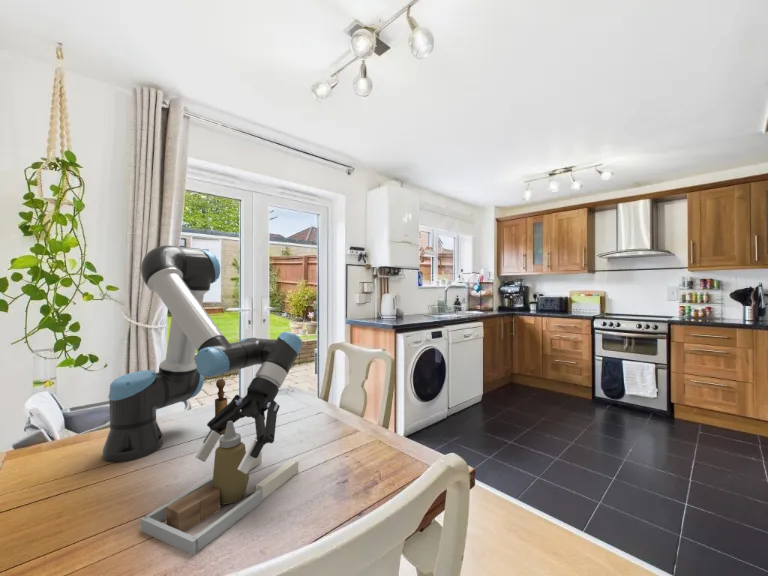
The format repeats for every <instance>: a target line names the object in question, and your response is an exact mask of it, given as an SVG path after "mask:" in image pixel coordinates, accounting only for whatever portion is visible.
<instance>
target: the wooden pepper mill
mask: <svg viewBox="0 0 768 576" xmlns="http://www.w3.org/2000/svg"><path fill="white" fill-rule="evenodd" d="M215 386H216V388H217V390H218V391H217V398H215V399H214V417H215V416H216V415H217V414H218V413H219V412H220V411H221V410H222V409H224V408H225V407H226V406H227V405H228V398H227V397H225V391H224V388H225V386H226V380H225V379H222V378H220V379H218V380H216V382H215ZM214 424H215V423H214ZM218 428H219V427H218ZM225 431H226V429H224V430H223V431H222V432H220V434H221V435H225Z"/></svg>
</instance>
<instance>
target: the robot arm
mask: <svg viewBox="0 0 768 576" xmlns="http://www.w3.org/2000/svg"><path fill="white" fill-rule="evenodd" d="M220 265H221V264H220V262H219V259H218V258H217V256H216V255H215V254H214V253H213V252H212V251H210V250H207V249H202V248H198V247H197V248H196V247H187V246H186V247H185V246H176V245H160V246H157V247H154V248H152V249H151V250H149V251H148V252H147V253H146V254H145V256H144V257H143V259H142V262H141V266H140V271H141V272H140V273H141V278H142V281H144V283H145V285H146V287H147V289H149V290H150V291H151V292H153V293H156V294H157V295H158V297H159V298H160V300H161V301H162V303H163V304H164V306H165V307H166V308H167V310H168V311H169V312H170V314H171V319H170V326H169V334H168V338H167V339H168V341H167V347H166V354H165V359H164V360H163V361H160V362H159V367H158V372H156V371H155V370H150V369H144V370H140V371H134V372H129V373H126V374H124V375H121V376H118V377H117V378H115V379H114V380H112V382H111V383H110V386H109V394H108V399H109V400H108V401H109V432H108V434H107V437H106V440H105V443H104V445H103V448H102V460H104V461H105V460H106V461H105V462H109V463H110V462H113V463H117V462H118V463H120V462H126V461H130V460H131V461H132V460H135V459H139V458H143V457H145V456H147V455H151V454H153V453H154V452H156V451H158V450H160V449H161V448H162V447H163V444H164V435H163V433H162V430H161V428H160V426H159V424H158V420H157V411H158V410H159V409H163V408H167V407H169V406H173V405H176V404H178V403H182V402H186V401H188V400H190V399H192V398H195V397H197V395H199V393H200V392H201V390H202V388H203V386H204V377H206V378H209V377H210V378H211V377H215V376H222V375H225V374H226V373H230V372H233V371H238V370H241V369H245V368H249V367H252V366H256V365H257V366H258V365H260V367H259V369H258V370H257V372H256V373H255V374H254V375H255V376H254V378H252V380H251V382H250V383H249V385H248V387H247V388H246V389H247V392H246V395H245V396H244V397H243V396H240V394H236V395H234V397H233V398H232V399H231V401H230V402H229V403H227V406H226V407H225V408H224V409H222V410H221V411H220V412H219V413H218V414H217V415H216V416H215V415H214V417H213V418H212V419H210V420H209V422H207V423H206V426H207V427H208V428H209V429H210V431H209V432H208V434H207V435H206V437H205V438H204V440H203V443H202V445H201V447H200V449H199V450H198V452H197V454H196V455H195V458H196V459H198V460H200V461H202V462H203V463H206V460H207V459H208V457H209V456H210V454H211V452H212V451H213V449H214V448H215V446H216V445H217V442H218V441H219V440H220V438H221V437H222V436H221V435H222V434H220V432H222V431H223V430H224V429H226V426H227V422H228V421H233V424H234V423H236V422H238V420H240V419H243V418H245V417H246V418H252V419H254V423H255V435H256V437H254V439H252V441H251V443H250V445H249V446H248V448H247V450H246V454H245V456H244V458H243V459H242V461H241V463H240V465H239V467H238V470H239V471H241V472H243V473H244V474H247V473H249V471H250V470H251V469H250V467H251V465H252V463H253V461H254V459H255V458H257V457H258V456H259V453H260V452H262V449H263V448H264V446H265V445H266V444H273V443H274V442H275V435H276V425H277V424H276V423H277V416H278V415H277V414H278V411H279V409H280V407H281V405H279V404H278V402H276V401H275V399H276V397H277V395H278V393H279V391H280V389H281V387H282V385H283V384H284V381H285V380H286V378H287V376H288V375H289V373H290V370H291V368H292V367H293V365H294V363H295V361H296V360H297V358H298V357H299V354H300V352H301V350H302V347H303V340H302V339H301V338H300V336H298V335H297V334H296V333H293V332H291V331H283V332H281V333H280V334H279V335H278V336H277V338H276V339H275V338H274V339H271V338H270V339H268V338H258V337H245V338H243V339H241V340H240V341H237V342H229V340H228V339H227V337H226V336H225V335H224V334H223V333H222V332H221V330H220V329H219V327H218V325H217V324H216V323H215V321H213V319H212V317H211V316H210V314H209V313H208V312H207V311H206V309H205V307H204V306H203V304H204V303H203V301H204V296H205V294H207V292H209V291H210V288H211V284H214V283H215V282H217V280H219V278H220V275H221V266H220ZM196 352H197V353H196ZM266 411H267V412H266ZM265 412H266V414H265ZM214 423H215V424H214ZM218 427H219V428H218ZM249 469H250V470H249Z"/></svg>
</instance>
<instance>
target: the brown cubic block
mask: <svg viewBox="0 0 768 576" xmlns="http://www.w3.org/2000/svg"><path fill="white" fill-rule="evenodd" d="M189 496H191V497H193V498H195V499H197V500H199V501H200V522H199V523H201V522H203V521H204V520H206V519H207V518H209V517H211V516H213V515H214V514H216V513H217V512H219V511H221V503H220V490H218V489H216V488H214V487H212V486H209V485H206V486H204V487H202V488H200V489H199V490H197V491H195V492H193V493H191V494H189Z"/></svg>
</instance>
